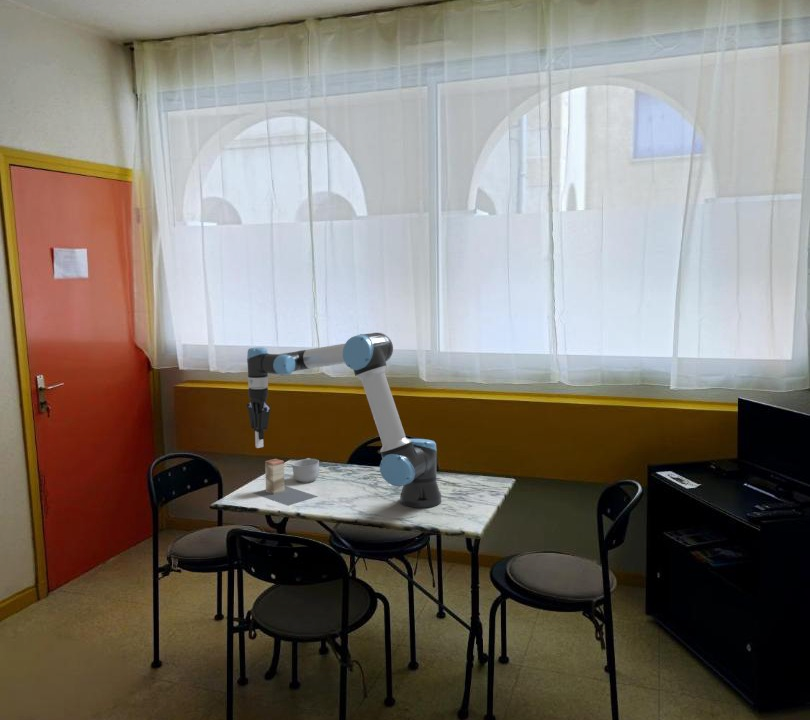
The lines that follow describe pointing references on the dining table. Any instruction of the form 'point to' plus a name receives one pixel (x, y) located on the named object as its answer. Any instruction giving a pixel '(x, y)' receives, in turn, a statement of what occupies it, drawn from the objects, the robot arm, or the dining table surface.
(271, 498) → the mat
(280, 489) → the block
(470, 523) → the dining table surface
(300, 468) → the teacup
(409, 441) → the robot arm
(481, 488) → the dining table surface
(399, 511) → the dining table surface
